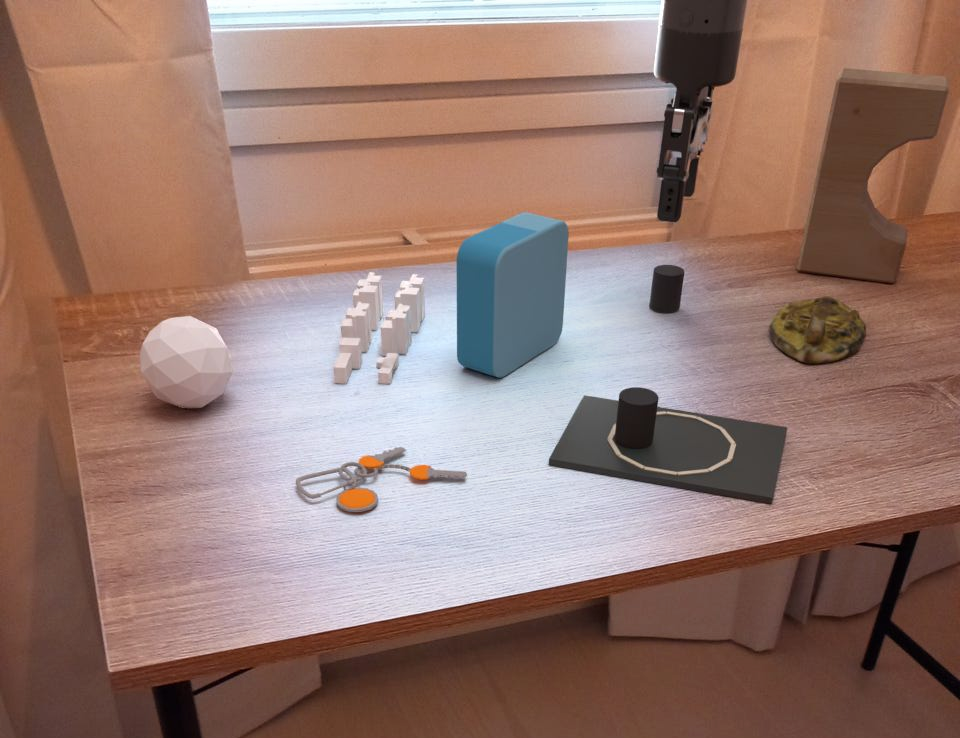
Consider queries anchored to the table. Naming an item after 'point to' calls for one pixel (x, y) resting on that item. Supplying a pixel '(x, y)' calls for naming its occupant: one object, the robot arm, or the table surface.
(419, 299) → the modular blocks
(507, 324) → the blue rounded slab
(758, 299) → the table surface
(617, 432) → the eye peg
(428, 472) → the key chain
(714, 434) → the slate board
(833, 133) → the decorative block
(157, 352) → the geometric ball
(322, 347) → the table surface
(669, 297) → the eye peg
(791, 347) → the olive lumpy oval slab
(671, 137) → the robot arm
